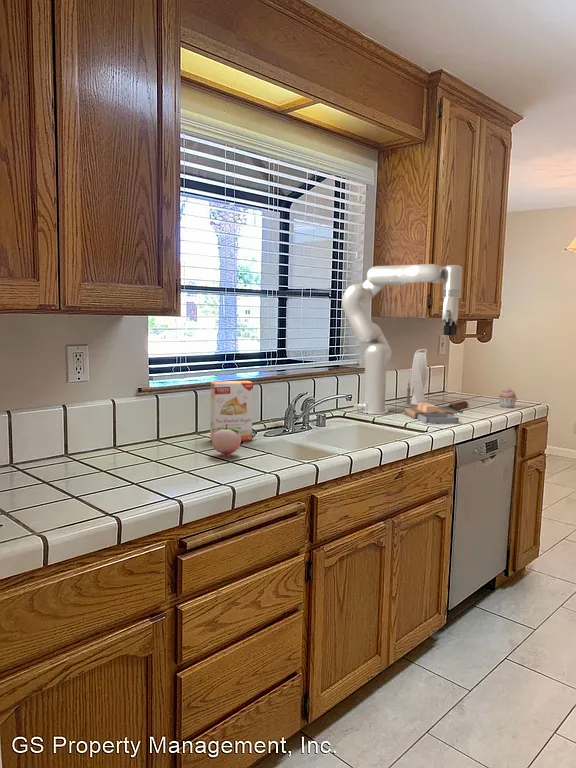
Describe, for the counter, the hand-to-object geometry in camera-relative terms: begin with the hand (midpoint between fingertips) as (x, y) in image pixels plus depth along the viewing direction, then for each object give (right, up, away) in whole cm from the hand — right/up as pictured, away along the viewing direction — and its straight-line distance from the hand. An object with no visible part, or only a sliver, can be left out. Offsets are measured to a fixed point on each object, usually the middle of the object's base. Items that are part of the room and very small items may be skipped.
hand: (450, 334), depth 246 cm
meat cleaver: (+9, -35, +23) cm, 43 cm away
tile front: (-8, -33, +5) cm, 34 cm away
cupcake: (+40, -33, +39) cm, 65 cm away
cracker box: (-90, -41, -44) cm, 108 cm away
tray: (-6, -37, -3) cm, 38 cm away
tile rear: (-8, -32, +11) cm, 35 cm away
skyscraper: (-4, -32, +42) cm, 53 cm away
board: (-7, -36, +8) cm, 37 cm away
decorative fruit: (-89, -44, -66) cm, 119 cm away
